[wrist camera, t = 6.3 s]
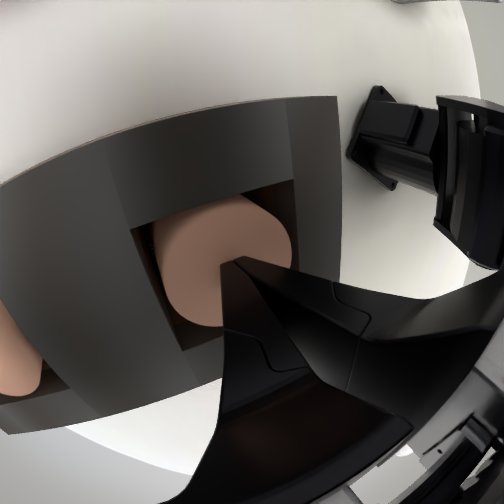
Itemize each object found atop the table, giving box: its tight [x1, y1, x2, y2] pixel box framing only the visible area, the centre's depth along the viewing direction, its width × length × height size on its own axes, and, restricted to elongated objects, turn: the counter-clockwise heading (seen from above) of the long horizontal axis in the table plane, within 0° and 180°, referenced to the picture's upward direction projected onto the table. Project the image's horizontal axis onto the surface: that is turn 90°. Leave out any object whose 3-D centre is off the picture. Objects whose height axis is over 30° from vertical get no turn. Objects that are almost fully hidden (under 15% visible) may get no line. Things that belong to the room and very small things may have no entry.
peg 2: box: [147, 194, 292, 326], centre depth 11 cm, size 4×4×6 cm
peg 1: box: [0, 300, 43, 396], centre depth 8 cm, size 4×4×6 cm
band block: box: [0, 96, 342, 435], centre depth 10 cm, size 19×10×7 cm, turn 99°
